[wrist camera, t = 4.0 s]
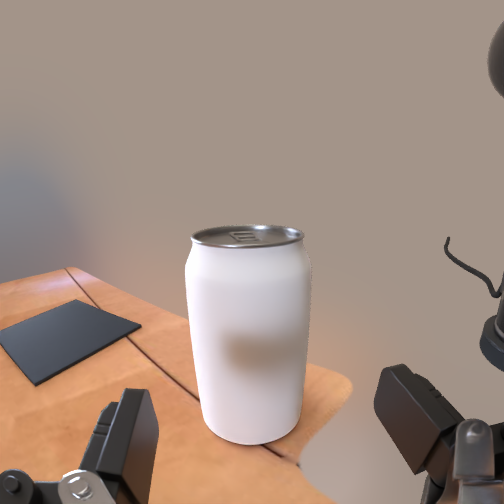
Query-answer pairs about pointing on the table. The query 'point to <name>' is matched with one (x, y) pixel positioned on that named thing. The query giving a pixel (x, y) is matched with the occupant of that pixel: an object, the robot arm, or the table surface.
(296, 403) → the can
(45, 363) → the desk mat
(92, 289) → the table surface
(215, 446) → the table surface
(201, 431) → the table surface
